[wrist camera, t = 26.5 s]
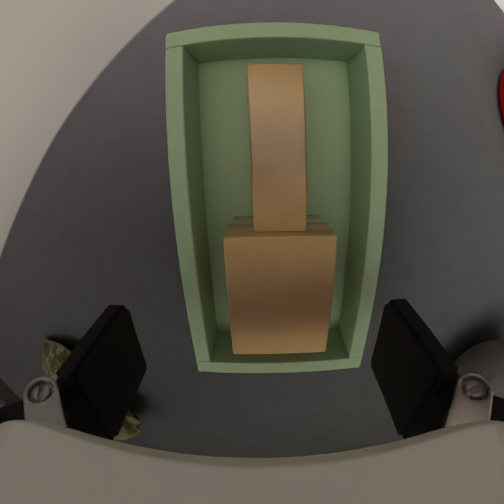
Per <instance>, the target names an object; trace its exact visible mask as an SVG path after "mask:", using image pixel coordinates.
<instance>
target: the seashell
mask: <svg viewBox="0 0 504 504" xmlns="http://www.w3.org/2000/svg"><path fill="white" fill-rule="evenodd" d="M70 353H71V351H70V350H69V349H67V348H66V347H65V346H63V345H62V344H61V343H57V342H54V341H50V340H44V342H43V343H42V353H41V355H42V362H43V369H44V371H45V373H46V375H47V377H51V378H53V379H54V380H55V381H56V380H57V379H58V376H57V375H56V372H57V371H58V369H59V368H60V367H61V365H62V364H63V363H64V361H65V360H66V359H67V357H68V356H69V355H70ZM139 425H140V421H139V419H138V417H137V416H135V415H134V414H131V413H130V411H128V413H127V415H126V418H125V420H124V422H123V425H122V427H121V430H120V432H119V434H118V436H116V437H115V436H114V438H113V440H125V439H129V438H133V437H135V436H137V435H138V434H139V433H140V429H139V427H138V426H139Z"/></svg>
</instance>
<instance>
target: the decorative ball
mask: <svg viewBox="0 0 504 504" xmlns="http://www.w3.org/2000/svg"><path fill="white" fill-rule="evenodd" d="M454 363H455V364H456V366H457V367H458V371H457V372H458V374H459V375H460V376H461V375H462V374H464V373H466V372H477V373H480V374H482V375H484V376H485V377H486V378H488V380H489V381H490V382H491V384H492V386H493V395H495V396H497V397H500V398H503V399H504V340H499V339H498V340H489V341H485V342H482V343H479V344H477V345H475V346H473V347H471V348H470V349H468V350H466V351H465V352H464V353H463V354H461V355H460V356H459V357H458V358H457V359H456V360H455V361H454Z"/></svg>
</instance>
